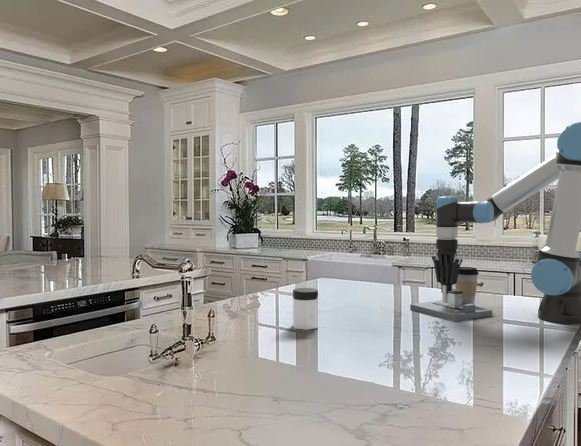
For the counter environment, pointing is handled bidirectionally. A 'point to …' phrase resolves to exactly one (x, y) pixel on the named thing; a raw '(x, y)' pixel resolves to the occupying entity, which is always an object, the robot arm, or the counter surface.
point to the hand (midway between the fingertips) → (446, 302)
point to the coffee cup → (467, 284)
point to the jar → (305, 308)
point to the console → (451, 310)
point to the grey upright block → (455, 298)
